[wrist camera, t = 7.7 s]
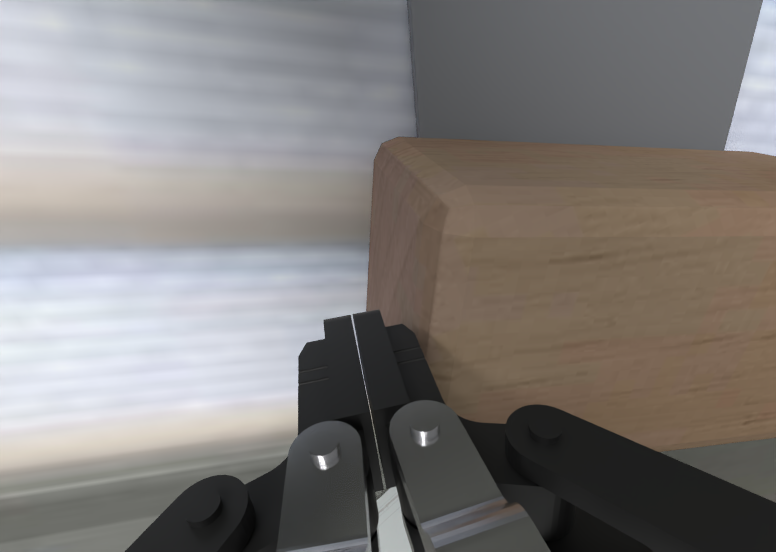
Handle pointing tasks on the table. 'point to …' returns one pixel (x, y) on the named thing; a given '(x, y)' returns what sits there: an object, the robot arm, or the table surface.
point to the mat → (580, 70)
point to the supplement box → (391, 523)
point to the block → (585, 282)
